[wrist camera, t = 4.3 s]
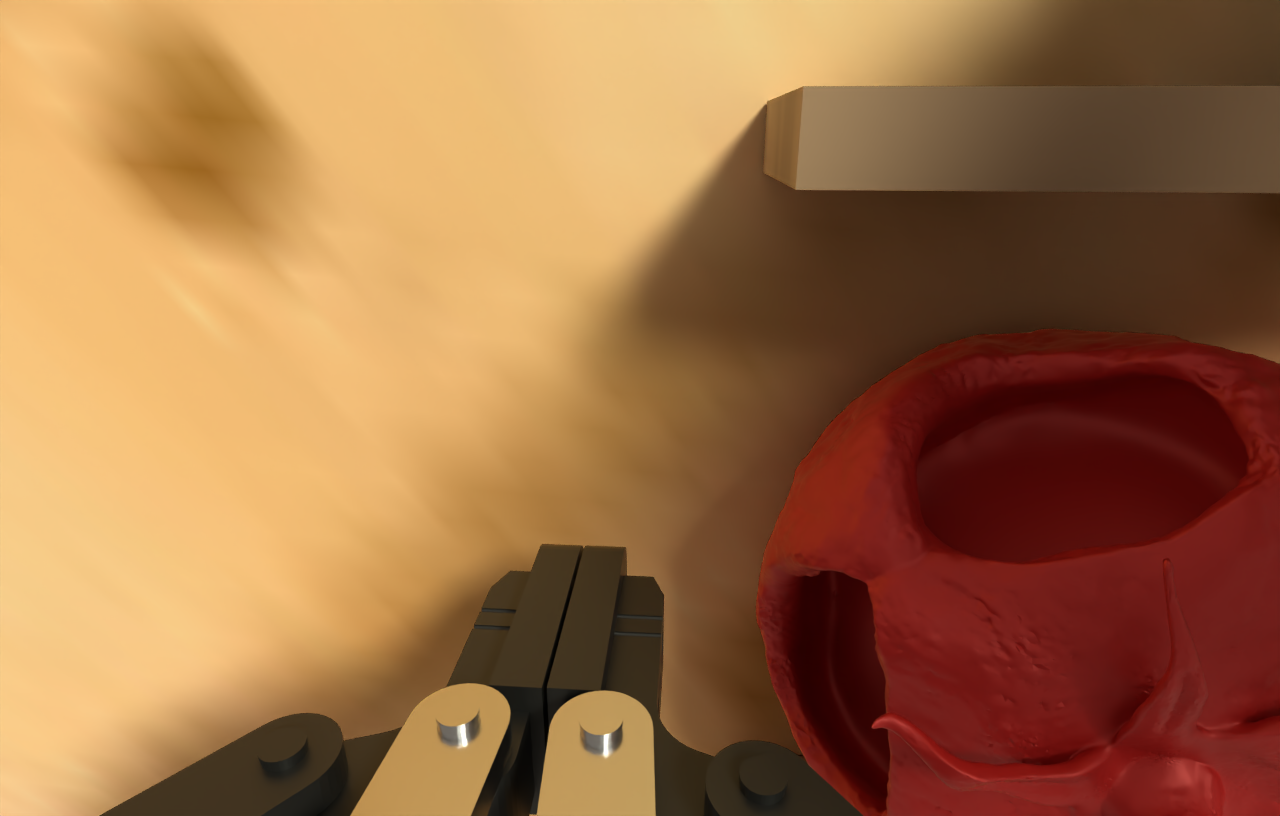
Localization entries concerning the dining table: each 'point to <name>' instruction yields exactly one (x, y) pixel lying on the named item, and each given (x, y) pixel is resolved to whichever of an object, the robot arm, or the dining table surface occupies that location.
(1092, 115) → the brown wooden open box
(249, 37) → the dining table surface
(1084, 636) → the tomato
